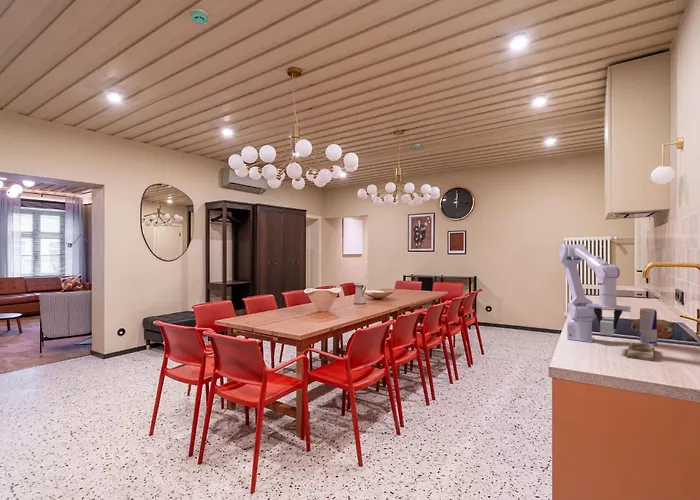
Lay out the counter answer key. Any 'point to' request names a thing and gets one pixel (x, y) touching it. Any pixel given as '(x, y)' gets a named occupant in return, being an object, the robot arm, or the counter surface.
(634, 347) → the framed wooden panel
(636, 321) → the tin
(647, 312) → the beverage can
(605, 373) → the counter surface
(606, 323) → the grey box
